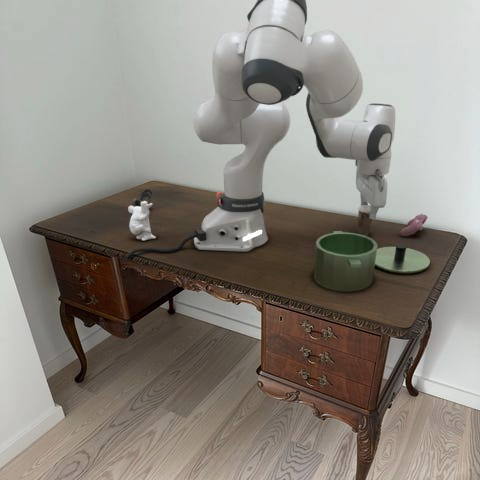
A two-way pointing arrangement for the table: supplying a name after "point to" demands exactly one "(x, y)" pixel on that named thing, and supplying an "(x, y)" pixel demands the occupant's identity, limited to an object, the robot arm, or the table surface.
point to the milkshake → (364, 220)
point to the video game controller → (414, 225)
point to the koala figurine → (141, 221)
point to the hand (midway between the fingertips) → (367, 212)
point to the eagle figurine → (143, 198)
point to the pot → (344, 261)
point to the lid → (401, 259)
